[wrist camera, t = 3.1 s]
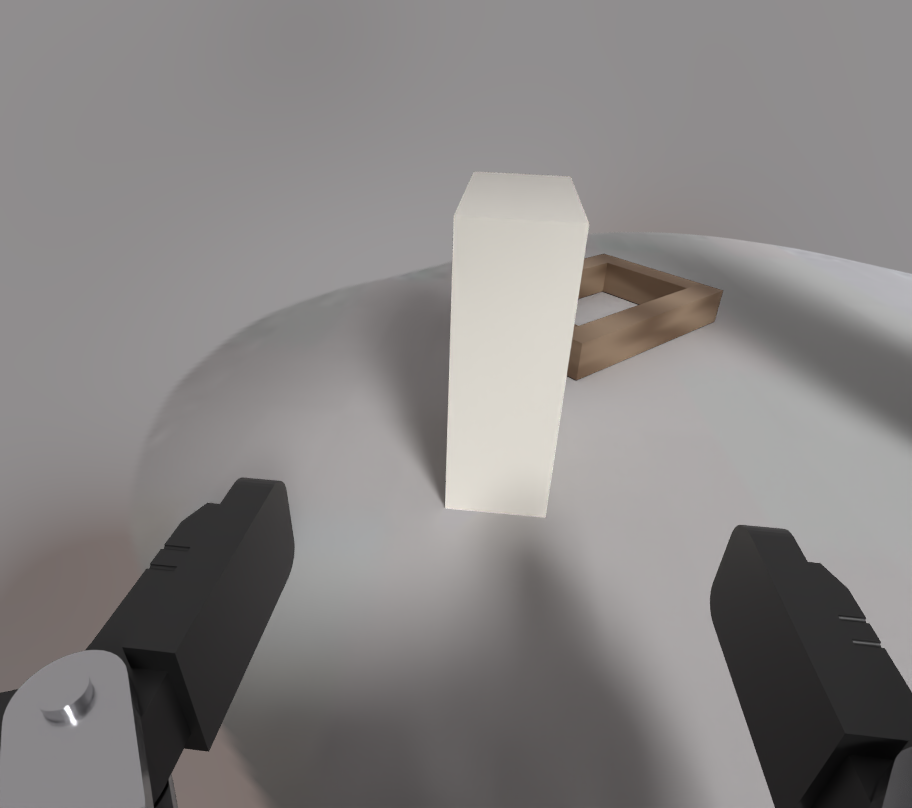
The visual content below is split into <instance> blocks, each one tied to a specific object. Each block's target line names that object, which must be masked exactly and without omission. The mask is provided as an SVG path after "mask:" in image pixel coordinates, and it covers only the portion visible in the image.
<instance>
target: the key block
mask: <svg viewBox="0 0 912 808" xmlns="http://www.w3.org/2000/svg"><path fill="white" fill-rule="evenodd" d="M453 229H454V230H453V260H452V293H451V327H450V360H449V394H448V427H447V460H446V494H445V508H447V509H458V510H468V511H479V512H490V513H500V514H511V515H522V516H533V517H543V518H546V511H547V504H548V497H549V491H550V484H551V477H552V471H553V464H554V457H555V451H556V444H557V437H558V430H559V424H560V417H561V410H562V404H563V397H564V390H565V384H566V377H567V370H568V363H569V357H570V350H571V343H572V337H573V330H574V323H575V316H576V310H577V303H578V296H579V290H580V283H581V276H582V270H583V263H584V256H585V249H586V243H587V236H588V229H589V222H588V219H587V216H586V214H585V211H584V209H583V206H582V204H581V201H580V199H579V196H578V194H577V191H576V189H575V187H574V184H573V182H572V179H571V177H568V176H548V175H528V174H509V173H489V172H474V173H473V175H472V177H471V179H470V181H469V184H468V186H467V188H466V190H465V192H464V195H463V197H462V199H461V201H460V203H459V206H458V208H457V210H456V212H455V214H454V227H453Z"/></svg>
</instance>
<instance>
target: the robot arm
mask: <svg viewBox="0 0 912 808" xmlns="http://www.w3.org/2000/svg"><path fill="white" fill-rule="evenodd" d="M293 559H294V537H293V530H292V524H291V517H290V510H289V504H288V497H287V491H286V487H285V484H284V483H283V482H282V481H275V480H264V479H253V478H240V479H238V480H237V481H236V482H235V483H234V485H233V486H232V487H231V489H230V490H229V492H228V493H227V495H226V496H225V498H224V499H223V501H222V502H221V504H213V503H207V504H205V505H204V506H203V507H201V508H200V509H198V510H197V511H196V512H194V513H193V514H191V515H190V516H189V517H187V518H186V519H185V520H183V521H182V522H181V523H180V525H179V526H178V527H177V529H176V530H175V531H174V533H173V534H172V535H171V537H170V538H169V539H168V541H167V542H166V543H165V547H164V549H161V550H160V551H159V553H158V554H157V555H156V557H155V558H154V559H153V561H152V562H151V563H150V568H149V569H146V570H145V572H144V573H143V574H142V576H141V577H140V578H139V580H138V581H137V582H136V584H135V585H134V586H133V588H132V589H131V591H130V592H129V593H128V595H127V596H126V597H125V599H124V600H123V601H122V603H121V604H120V605H119V606H118V608H117V609H116V611H115V612H114V613H113V615H112V616H111V617H110V619H109V620H108V621H107V623H106V624H105V625H104V627H103V628H102V629H101V631H100V632H99V633H98V635H97V636H96V637H95V639H94V640H93V641H92V643H91V644H90V645H89V646H88V648H87V649H86V650H85V651H81V652H76V653H73V654H70V655H67V656H64V657H62V658H60V659H57V660H55V661H54V662H52V663H50V664H48V665H46V666H45V667H43V668H42V669H40V670H39V671H38V672H36V673H35V674H34V675H32V676H31V677H30V678H29V679H28V680H27V681H26V682H25V683H24V684H23V685H22V686H21V687H20V688H19V689H17V690H12V691H8V692H3V693H0V808H178V806H177V800H176V795H175V789H174V783H173V779H172V775H171V773H172V771H173V769H174V767H175V765H176V763H177V761H178V759H179V757H180V755H181V753H182V751H183V749H184V748H185V749H193V750H201V751H209V750H210V748H211V746H212V743H213V741H214V739H215V737H216V735H217V732H218V730H219V728H220V726H221V724H222V722H223V719H224V717H225V715H226V713H227V711H228V708H229V706H230V704H231V702H232V700H233V697H234V695H235V693H236V691H237V689H238V687H239V684H240V682H241V680H242V678H243V676H244V673H245V671H246V669H247V667H248V665H249V662H250V660H251V658H252V656H253V654H254V651H255V649H256V647H257V645H258V643H259V641H260V638H261V636H262V634H263V632H264V630H265V627H266V625H267V623H268V621H269V619H270V616H271V614H272V612H273V610H274V608H275V606H276V603H277V601H278V599H279V597H280V595H281V592H282V590H283V588H284V586H285V584H286V581H287V579H288V577H289V574H290V572H291V568H292V564H293ZM710 610H711V617H712V621H713V624H714V627H715V630H716V633H717V636H718V639H719V642H720V645H721V648H722V651H723V654H724V657H725V660H726V663H727V666H728V669H729V672H730V675H731V678H732V681H733V684H734V687H735V690H736V693H737V696H738V699H739V702H740V705H741V708H742V711H743V714H744V717H745V720H746V723H747V726H748V728H749V731H750V734H751V737H752V740H753V743H754V746H755V749H756V752H757V755H758V758H759V761H760V764H761V767H762V770H763V773H764V776H765V779H766V782H767V785H768V788H769V791H770V794H771V797H772V800H773V803H774V806H775V808H912V692H911V690H910V689H909V687H908V685H907V684H906V682H905V681H904V679H903V677H902V676H901V674H900V672H899V671H898V669H897V668H896V666H895V664H894V663H893V661H892V659H891V658H890V656H889V655H888V653H887V651H886V650H885V648H881V646H880V643H881V642H880V640H879V638H878V637H877V635H876V633H875V632H874V630H873V629H872V627H871V625H870V624H869V623H866V621H865V619H866V617H865V615H864V614H863V612H862V611H861V609H860V607H859V606H858V604H857V602H856V601H855V599H854V598H853V596H852V594H851V593H850V591H849V589H848V588H847V587H846V586H844V585H843V584H842V583H841V582H840V581H839V580H838V579H837V578H836V577H835V576H834V575H832V574H831V573H830V572H829V571H828V570H827V569H826V568H825V567H824V566H823V565H822V564H820V563H812V562H807V560H806V558H805V556H804V555H803V553H802V551H801V549H800V548H799V546H798V544H797V542H796V540H795V539H794V537H793V536H792V534H791V533H790V532H789V531H788V530H786V529H779V528H769V527H758V526H747V525H738V526H737V527H736V528H735V529H734V530H733V532H732V534H731V537H730V539H729V542H728V545H727V547H726V550H725V553H724V555H723V558H722V561H721V563H720V566H719V569H718V571H717V574H716V577H715V579H714V582H713V585H712V588H711V595H710Z"/></svg>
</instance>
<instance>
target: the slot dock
mask: <svg viewBox="0 0 912 808" xmlns="http://www.w3.org/2000/svg"><path fill="white" fill-rule="evenodd" d="M602 291H603V292H606V293H609V294H612V295H614V296H617V297H620V298H623V299H625V300H628V301H631V302H634V303H637V304H639V305H638V306H635V307H632V308H629V309H626V310H623V311H620V312H618V313H615V314H612V315H609V316H606V317H603V318H600V319H597V320H595V321H592V322H589V323H586V324H583V325H580V326H577V325H575V324H574V330H573V337H572V343H571V350H570V357H569V363H568V370H567V376H569V377H571V378H573V379H575V380H578V379H581V378H583V377H585V376H588V375H590V374H592V373H595V372H597V371H599V370H602V369H604V368H607V367H609V366H611V365H614V364H616V363H618V362H621V361H623V360H625V359H628V358H630V357H632V356H635V355H637V354H639V353H642V352H644V351H646V350H649V349H651V348H653V347H656V346H658V345H660V344H663V343H665V342H667V341H670V340H672V339H674V338H677V337H679V336H682V335H684V334H686V333H689V332H691V331H693V330H696V329H698V328H700V327H703V326H705V325H707V324H710V323H712V322H714V321H715V318H716V314H717V311H718V307H719V304H720V300H721V297H722V293H723V290H720V289H717V288H713V287H710V286H707V285H704V284H700V283H697V282H694V281H691V280H687V279H684V278H681V277H678V276H674V275H671V274H668V273H665V272H661V271H658V270H655V269H652V268H648V267H645V266H642V265H639V264H635V263H632V262H629V261H626V260H622V259H619V258H616V257H613V256H609V255H606V254H601V255H597V256H593V257H589V258H585V259H584V263H583V270H582V276H581V283H580V290H579V296H578V299H579V298H582V297H586V296H589V295H592V294H595V293H599V292H602Z"/></svg>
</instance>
